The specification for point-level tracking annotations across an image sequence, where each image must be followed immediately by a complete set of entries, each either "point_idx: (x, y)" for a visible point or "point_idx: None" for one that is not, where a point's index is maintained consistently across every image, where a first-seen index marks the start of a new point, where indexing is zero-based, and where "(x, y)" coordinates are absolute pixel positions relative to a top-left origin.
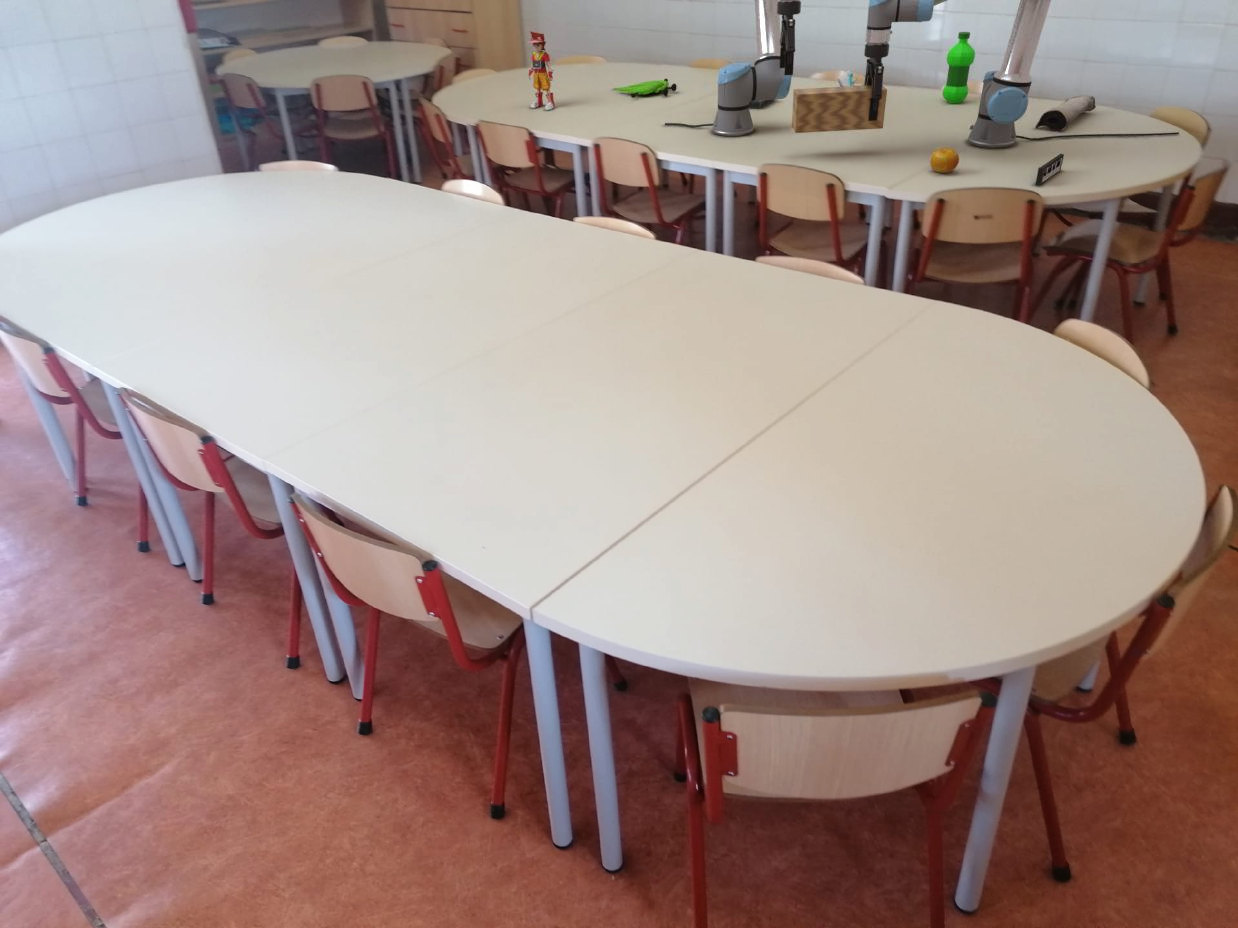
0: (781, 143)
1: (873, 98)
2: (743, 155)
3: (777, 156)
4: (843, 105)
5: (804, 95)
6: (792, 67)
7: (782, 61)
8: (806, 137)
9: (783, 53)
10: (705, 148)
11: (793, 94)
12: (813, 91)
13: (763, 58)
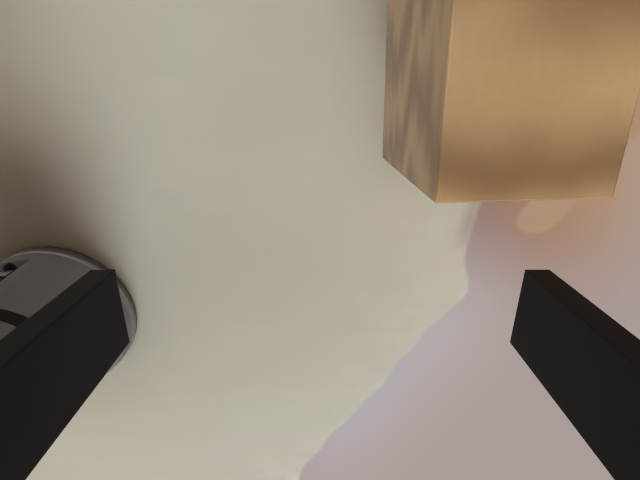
0: (226, 160)
1: None
2: (356, 296)
3: (390, 192)
4: None
5: (621, 140)
6: (593, 317)
7: (86, 364)
8: (140, 43)
9: (20, 431)
10: (263, 392)
11: (426, 194)
12: (576, 50)
13: None
